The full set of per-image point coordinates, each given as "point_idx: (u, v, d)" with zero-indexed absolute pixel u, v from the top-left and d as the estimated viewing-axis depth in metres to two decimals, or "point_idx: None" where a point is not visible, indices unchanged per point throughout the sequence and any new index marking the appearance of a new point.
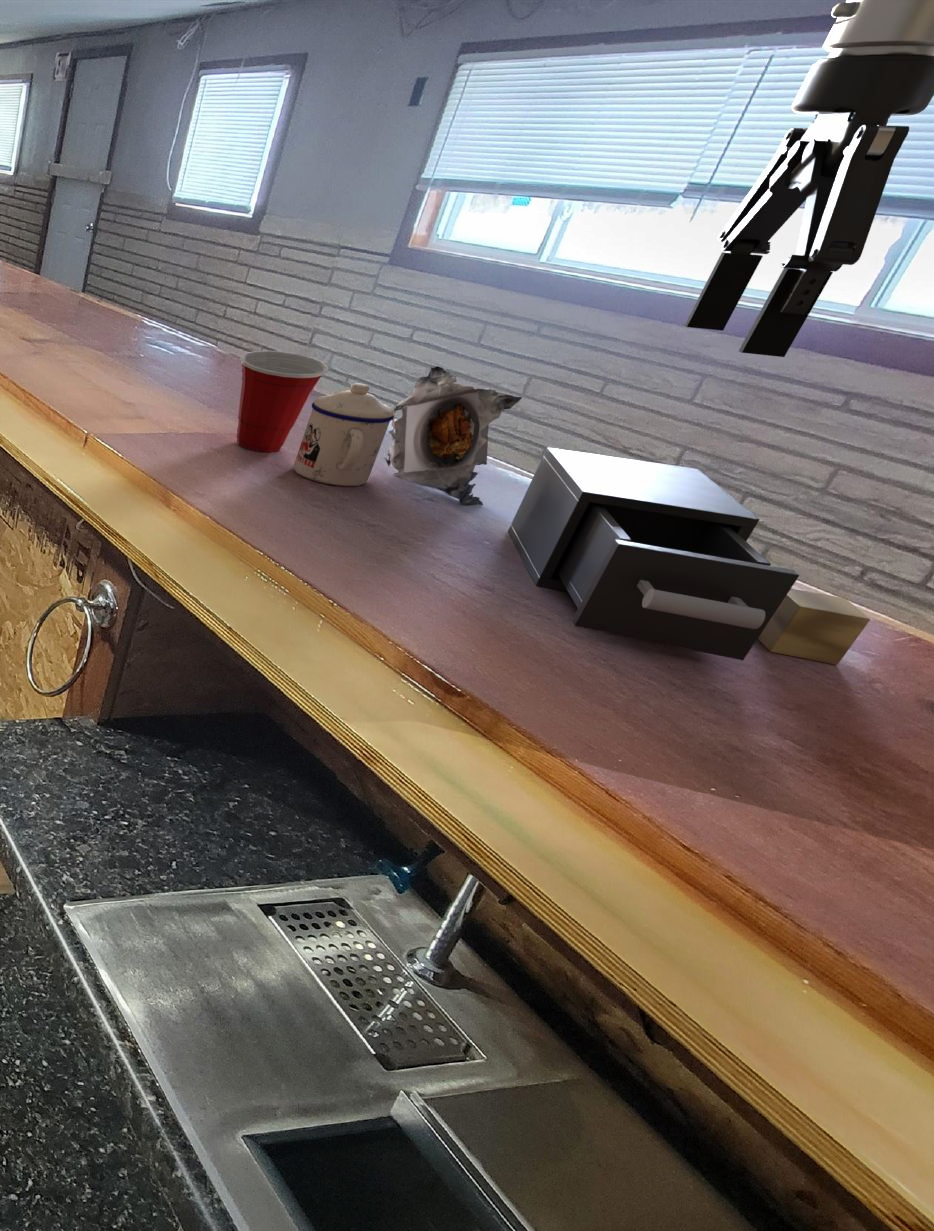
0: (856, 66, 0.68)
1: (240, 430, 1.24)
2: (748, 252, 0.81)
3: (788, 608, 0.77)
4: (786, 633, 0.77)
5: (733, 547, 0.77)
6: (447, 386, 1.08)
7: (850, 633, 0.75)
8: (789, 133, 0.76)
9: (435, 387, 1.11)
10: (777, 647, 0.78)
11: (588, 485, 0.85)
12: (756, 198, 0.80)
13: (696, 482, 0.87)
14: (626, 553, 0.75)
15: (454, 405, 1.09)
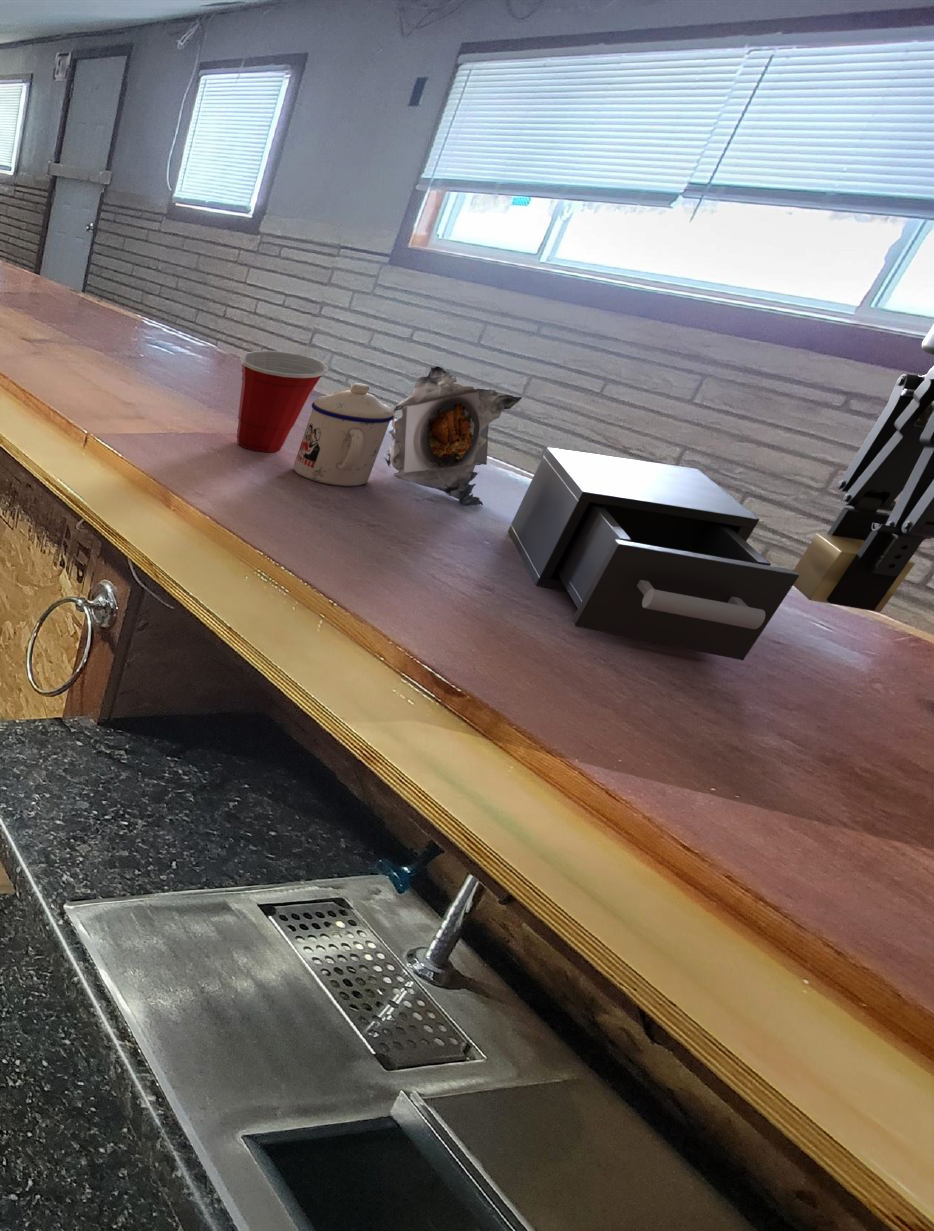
0: None
1: (240, 430, 1.24)
2: (874, 509, 0.75)
3: (828, 554, 0.75)
4: (827, 580, 0.74)
5: (733, 547, 0.77)
6: (447, 387, 1.08)
7: None
8: (902, 378, 0.73)
9: (435, 387, 1.11)
10: (817, 595, 0.75)
11: (588, 485, 0.85)
12: (878, 443, 0.74)
13: (696, 482, 0.87)
14: (626, 553, 0.75)
15: (454, 405, 1.09)
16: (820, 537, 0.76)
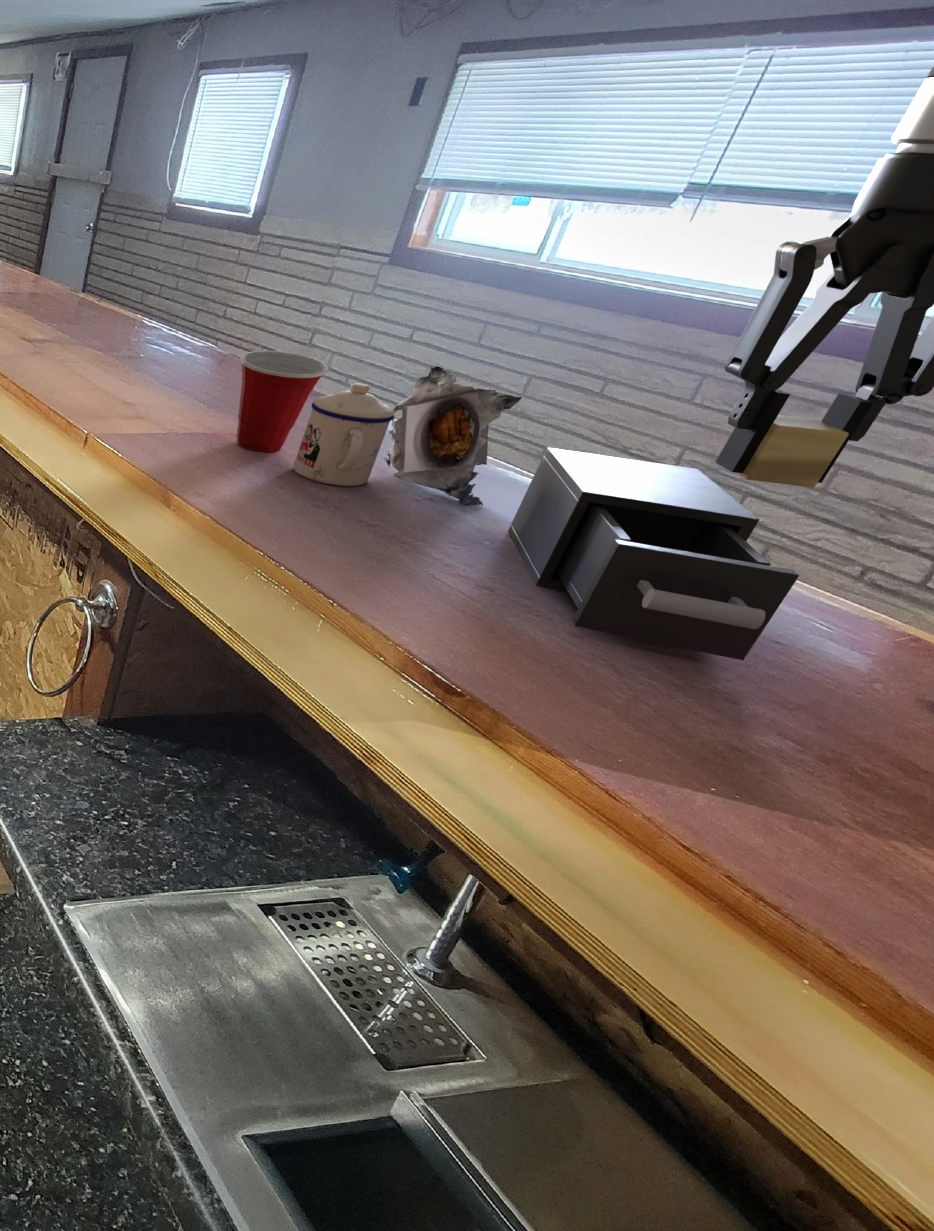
0: None
1: (240, 430, 1.24)
2: (866, 397, 0.69)
3: None
4: None
5: (733, 547, 0.77)
6: (447, 387, 1.08)
7: (763, 442, 0.72)
8: None
9: (435, 387, 1.11)
10: None
11: (588, 485, 0.85)
12: (927, 330, 0.68)
13: (696, 482, 0.87)
14: (626, 553, 0.75)
15: (454, 405, 1.09)
16: (801, 418, 0.73)
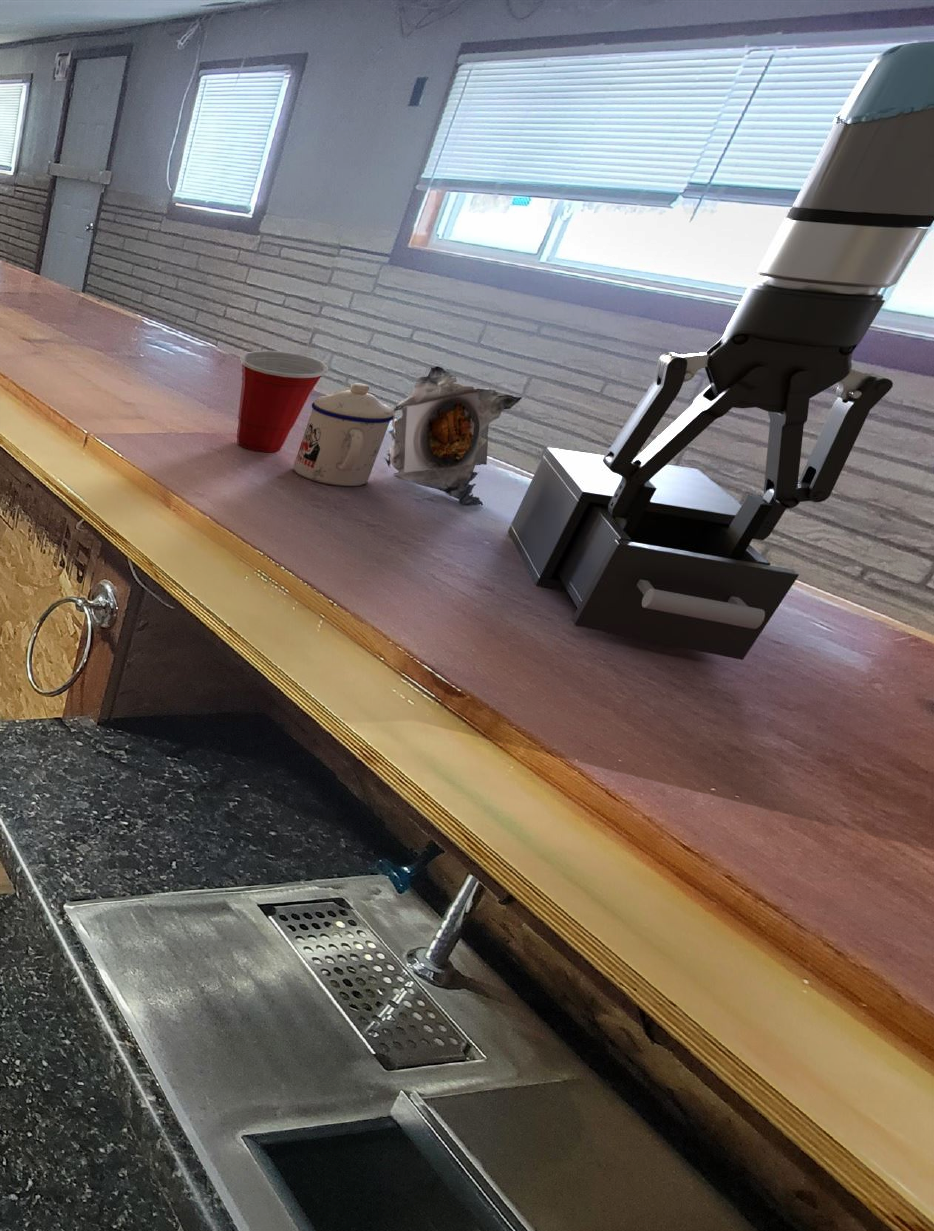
0: None
1: (240, 430, 1.24)
2: (769, 500, 0.74)
3: None
4: None
5: None
6: (447, 387, 1.08)
7: None
8: None
9: (435, 387, 1.11)
10: None
11: (588, 485, 0.85)
12: (819, 441, 0.72)
13: (696, 482, 0.87)
14: (626, 553, 0.75)
15: (454, 405, 1.09)
16: None
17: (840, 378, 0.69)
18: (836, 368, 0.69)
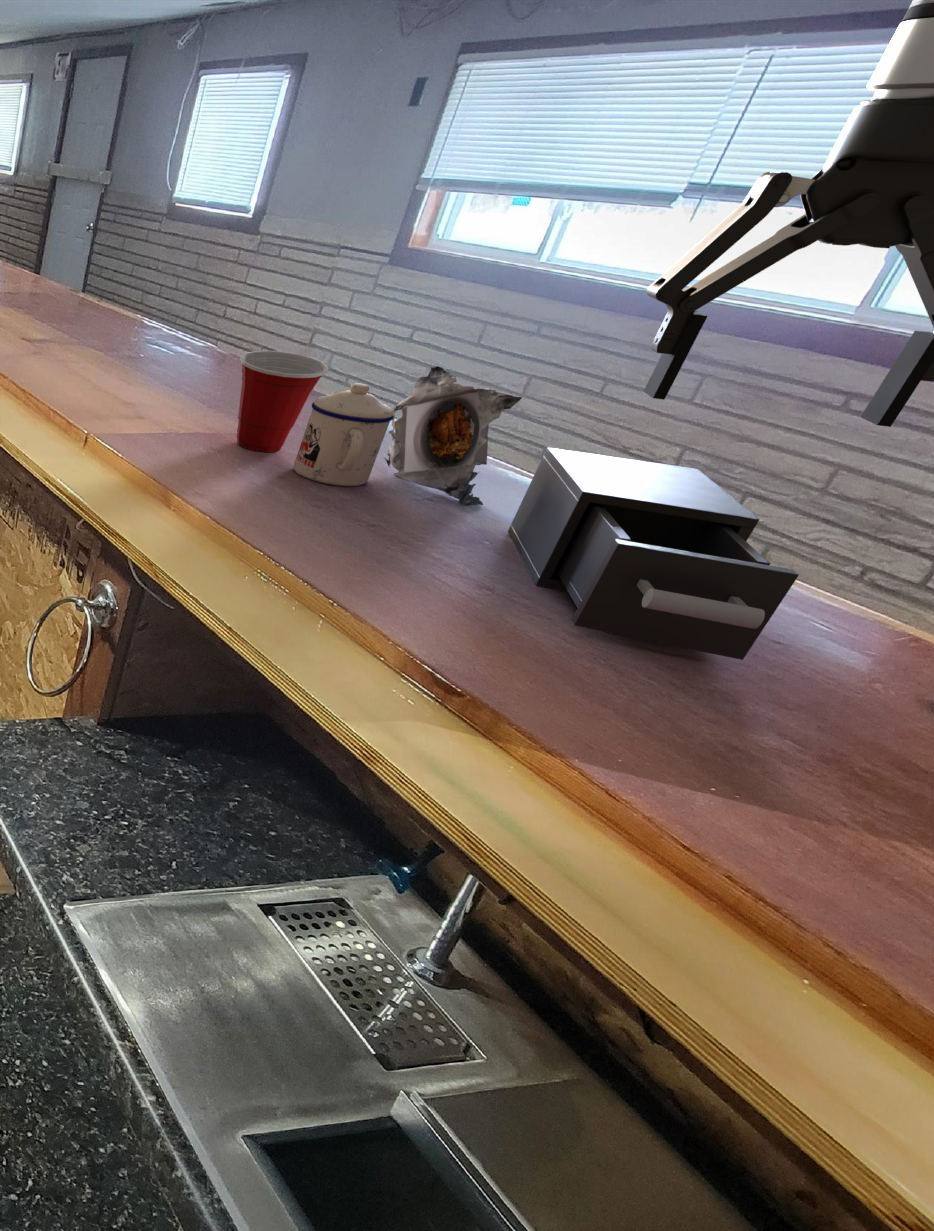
0: None
1: (240, 430, 1.24)
2: None
3: None
4: None
5: (733, 547, 0.77)
6: (447, 386, 1.08)
7: None
8: None
9: (435, 387, 1.11)
10: None
11: (588, 485, 0.85)
12: None
13: (696, 482, 0.87)
14: (626, 553, 0.75)
15: (454, 405, 1.09)
16: None
17: None
18: None
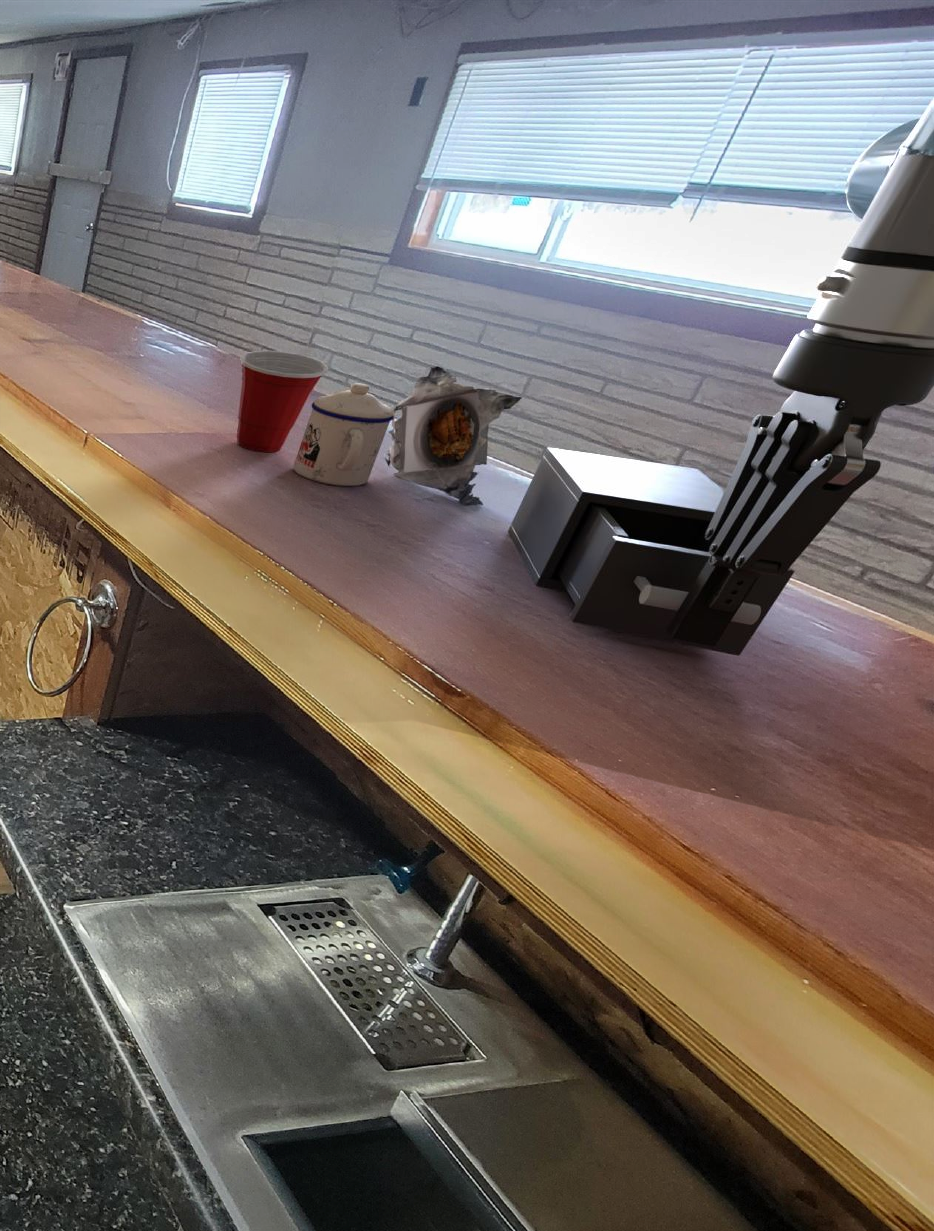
0: (845, 353, 0.59)
1: (240, 430, 1.24)
2: None
3: None
4: None
5: None
6: (447, 387, 1.08)
7: None
8: (757, 418, 0.69)
9: (435, 387, 1.11)
10: None
11: (588, 485, 0.85)
12: (741, 486, 0.69)
13: (696, 482, 0.87)
14: (623, 549, 0.75)
15: (454, 405, 1.09)
16: None
17: None
18: None
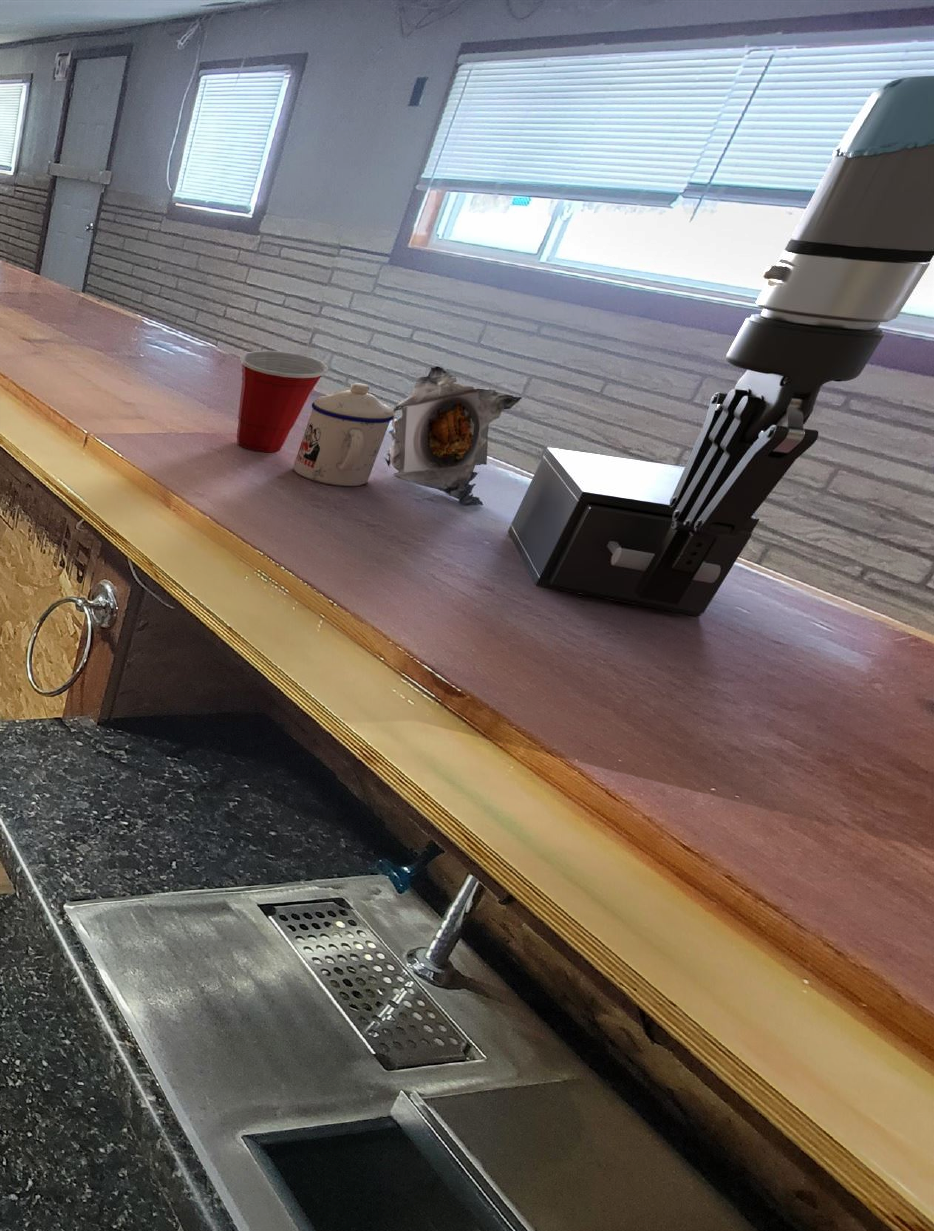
0: (787, 334, 0.66)
1: (240, 430, 1.24)
2: None
3: None
4: None
5: None
6: (447, 387, 1.08)
7: None
8: (715, 396, 0.76)
9: (435, 387, 1.11)
10: None
11: (588, 485, 0.85)
12: (701, 457, 0.76)
13: None
14: (597, 516, 0.82)
15: (454, 405, 1.09)
16: None
17: None
18: None
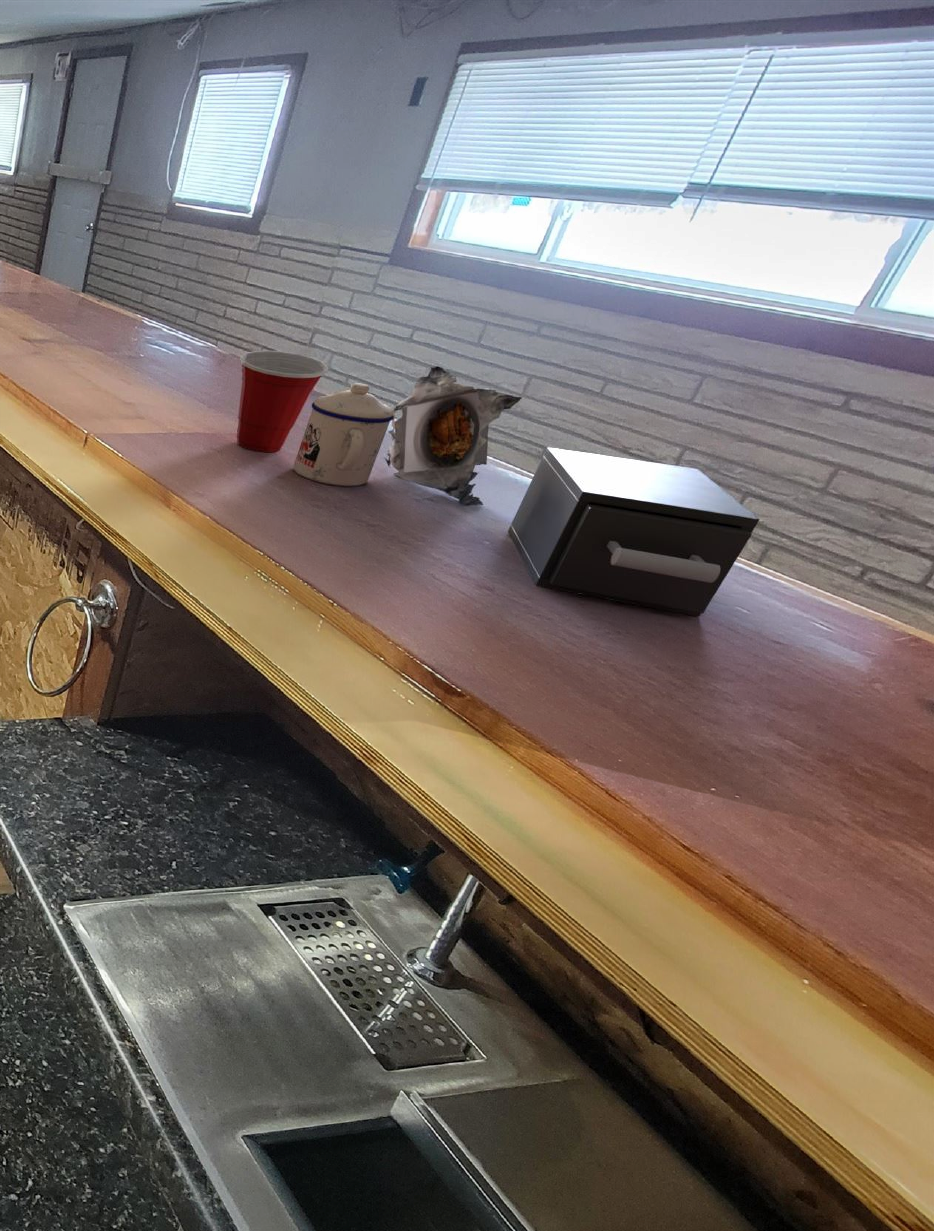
0: None
1: (240, 430, 1.24)
2: None
3: None
4: None
5: None
6: (447, 386, 1.08)
7: None
8: None
9: (435, 387, 1.11)
10: None
11: (588, 485, 0.85)
12: None
13: (696, 482, 0.87)
14: (597, 516, 0.82)
15: (454, 405, 1.09)
16: None
17: None
18: None
